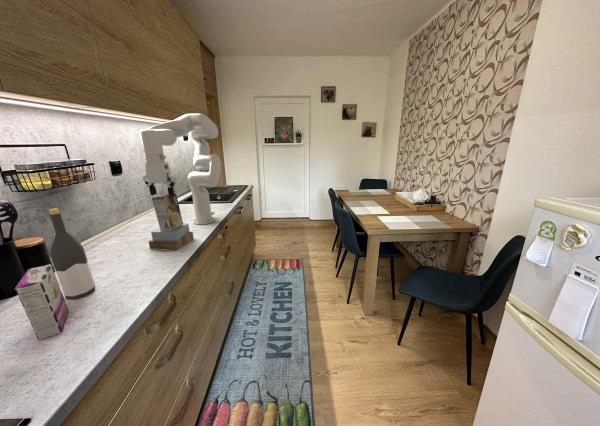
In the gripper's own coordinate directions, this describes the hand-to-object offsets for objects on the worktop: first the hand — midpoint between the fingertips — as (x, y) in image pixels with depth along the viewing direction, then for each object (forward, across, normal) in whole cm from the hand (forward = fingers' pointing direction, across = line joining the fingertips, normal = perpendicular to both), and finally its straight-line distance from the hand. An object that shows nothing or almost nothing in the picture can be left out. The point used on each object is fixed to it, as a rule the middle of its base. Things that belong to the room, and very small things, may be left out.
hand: (162, 195), depth 115 cm
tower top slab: (+21, -1, +1) cm, 21 cm away
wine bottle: (+24, +2, +43) cm, 49 cm away
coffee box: (+16, -2, +1) cm, 17 cm away
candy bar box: (+24, -6, +57) cm, 62 cm away
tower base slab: (+25, -1, +1) cm, 25 cm away
